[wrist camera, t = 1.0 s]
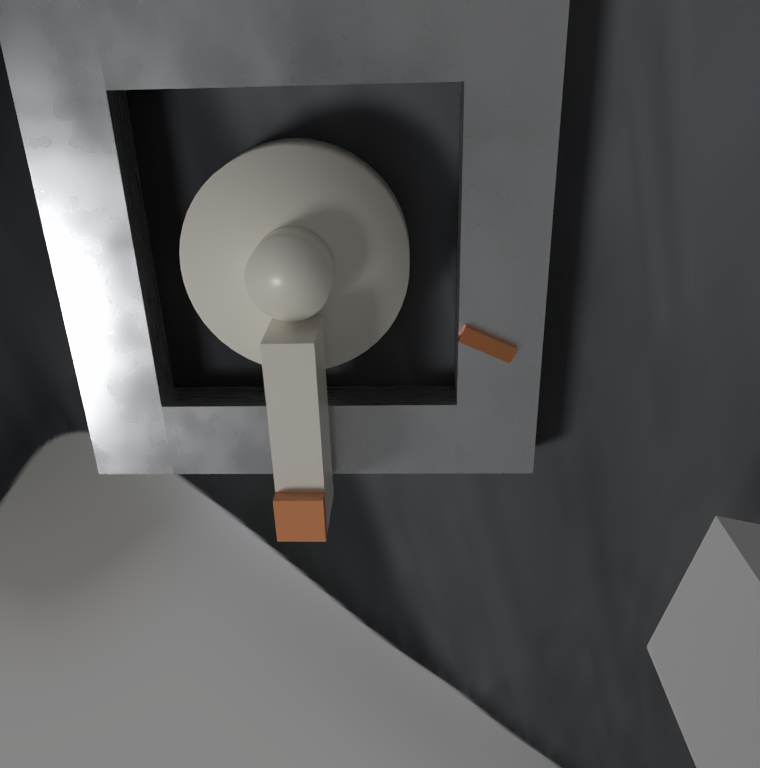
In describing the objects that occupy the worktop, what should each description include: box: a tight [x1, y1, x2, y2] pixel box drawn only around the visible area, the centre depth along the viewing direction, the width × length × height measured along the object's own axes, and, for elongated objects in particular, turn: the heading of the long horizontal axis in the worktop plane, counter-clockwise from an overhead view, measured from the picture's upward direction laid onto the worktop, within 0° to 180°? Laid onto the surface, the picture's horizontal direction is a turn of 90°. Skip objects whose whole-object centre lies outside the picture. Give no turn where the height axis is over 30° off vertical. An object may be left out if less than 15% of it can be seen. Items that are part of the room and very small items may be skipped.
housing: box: [0, 0, 570, 474], centre depth 30 cm, size 20×20×2 cm
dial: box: [179, 138, 410, 542], centre depth 29 cm, size 15×9×6 cm, turn 2°
